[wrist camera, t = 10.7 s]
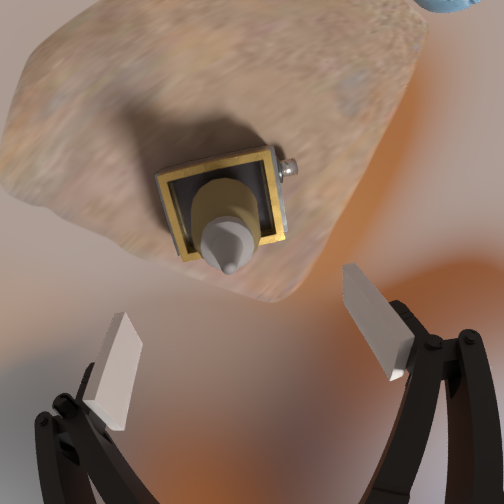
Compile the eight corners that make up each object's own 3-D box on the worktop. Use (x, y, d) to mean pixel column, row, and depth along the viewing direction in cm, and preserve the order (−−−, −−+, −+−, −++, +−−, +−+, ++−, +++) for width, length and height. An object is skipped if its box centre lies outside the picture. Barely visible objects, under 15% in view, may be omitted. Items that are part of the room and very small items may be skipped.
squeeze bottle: (208, 163, 34) (198, 195, 18) (264, 188, 37) (303, 240, 20) (184, 218, 37) (160, 292, 21) (238, 240, 39) (254, 323, 23)
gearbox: (287, 141, 39) (301, 145, 33) (298, 216, 45) (313, 233, 38) (161, 169, 39) (149, 178, 32) (181, 242, 44) (176, 263, 37)
